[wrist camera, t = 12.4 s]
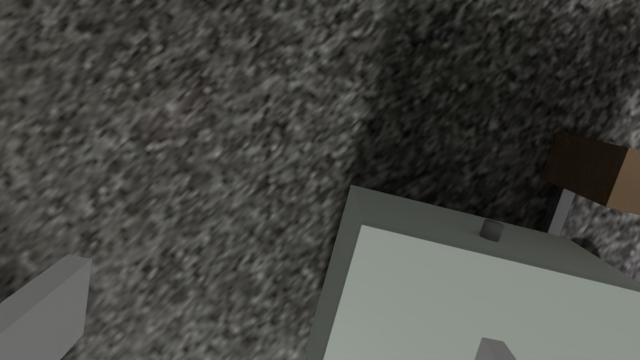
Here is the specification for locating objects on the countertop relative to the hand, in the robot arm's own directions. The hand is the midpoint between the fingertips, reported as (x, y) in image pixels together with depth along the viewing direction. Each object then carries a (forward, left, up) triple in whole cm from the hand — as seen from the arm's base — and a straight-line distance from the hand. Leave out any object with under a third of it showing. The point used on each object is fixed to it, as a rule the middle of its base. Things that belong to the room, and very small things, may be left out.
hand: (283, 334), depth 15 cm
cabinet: (+8, +14, -28) cm, 33 cm away
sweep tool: (-1, +24, -28) cm, 37 cm away
